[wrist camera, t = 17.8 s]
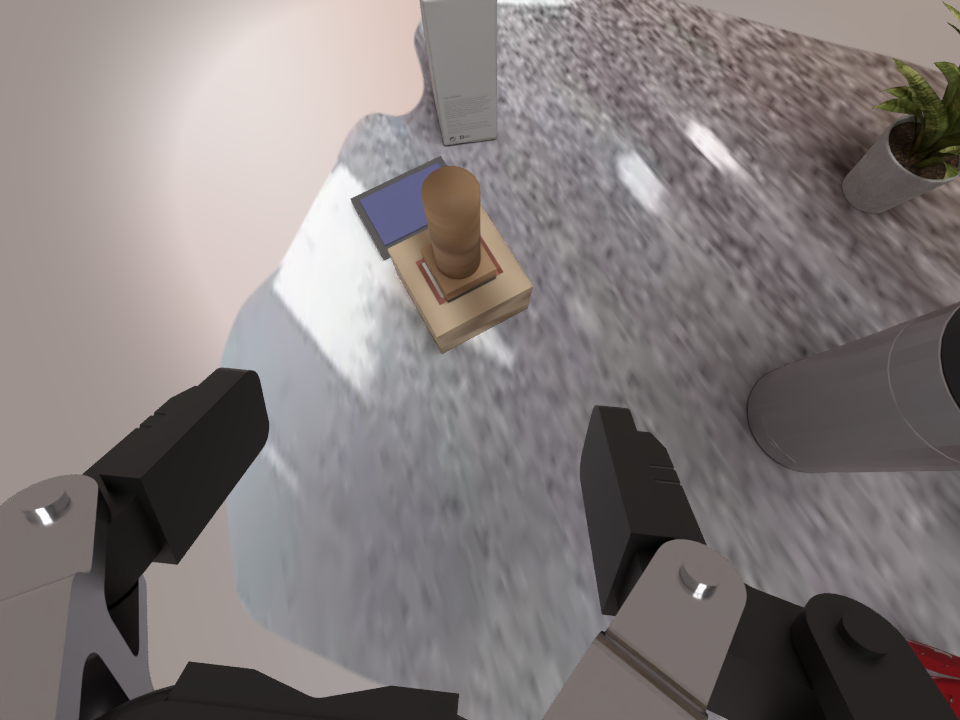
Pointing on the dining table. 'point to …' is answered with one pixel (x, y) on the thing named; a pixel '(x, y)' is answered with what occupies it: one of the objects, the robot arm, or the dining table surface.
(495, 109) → the skincare box
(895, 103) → the house plant
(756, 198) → the dining table surface
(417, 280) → the parcel
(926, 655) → the soda can
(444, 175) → the stamp
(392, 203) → the ink pad
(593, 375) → the dining table surface
